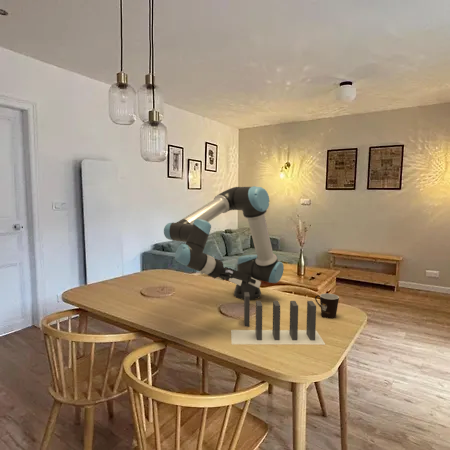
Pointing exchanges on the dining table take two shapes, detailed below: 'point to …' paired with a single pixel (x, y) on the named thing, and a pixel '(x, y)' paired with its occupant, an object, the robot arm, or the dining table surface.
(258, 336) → the domino
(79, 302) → the dining table surface
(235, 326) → the dining table surface
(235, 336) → the mat
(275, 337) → the domino
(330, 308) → the coffee mug
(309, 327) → the domino
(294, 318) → the domino
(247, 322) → the domino
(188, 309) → the dining table surface
